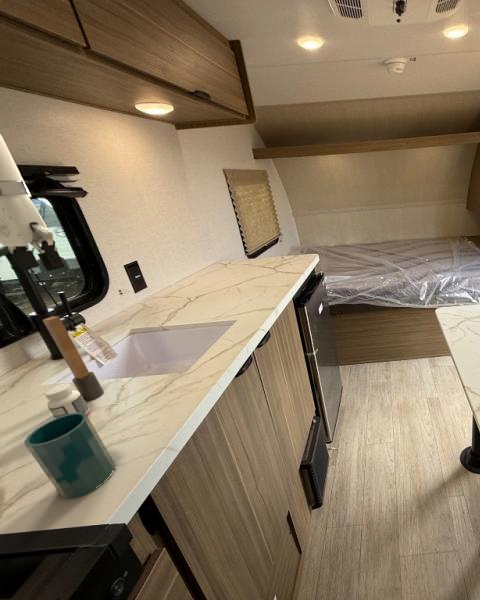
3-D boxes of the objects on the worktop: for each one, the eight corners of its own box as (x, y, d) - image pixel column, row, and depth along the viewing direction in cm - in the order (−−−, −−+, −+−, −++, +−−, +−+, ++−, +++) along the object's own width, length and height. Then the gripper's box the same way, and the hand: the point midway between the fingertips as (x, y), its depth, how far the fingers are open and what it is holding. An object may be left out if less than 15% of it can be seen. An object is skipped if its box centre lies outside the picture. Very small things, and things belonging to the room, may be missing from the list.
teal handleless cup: (50, 495, 55) (12, 443, 50) (96, 459, 61) (67, 410, 57) (81, 502, 53) (45, 449, 48) (125, 464, 60) (97, 414, 55)
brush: (79, 400, 79) (33, 321, 71) (96, 390, 83) (55, 314, 74) (91, 402, 78) (46, 322, 70) (108, 391, 82) (67, 314, 73)
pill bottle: (88, 409, 76) (71, 378, 72) (94, 417, 73) (76, 385, 70) (58, 423, 72) (38, 391, 68) (63, 432, 69) (42, 399, 66)
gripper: (-46, 195, 67) (-1, 272, 73) (1, 190, 61) (45, 274, 68) (4, 192, 73) (41, 263, 80) (50, 187, 68) (85, 264, 75)
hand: (42, 268), depth 74 cm, fingers open, 9 cm apart
